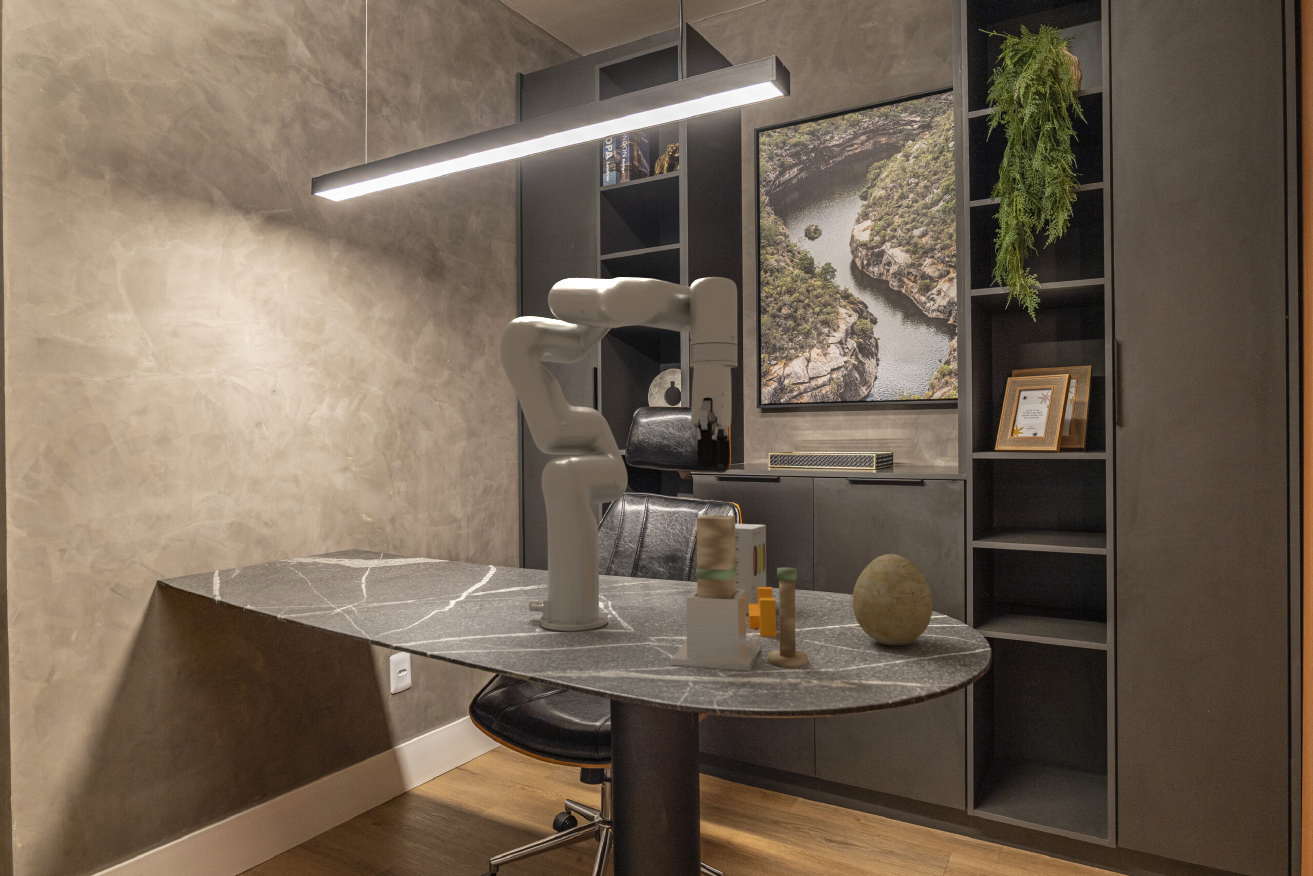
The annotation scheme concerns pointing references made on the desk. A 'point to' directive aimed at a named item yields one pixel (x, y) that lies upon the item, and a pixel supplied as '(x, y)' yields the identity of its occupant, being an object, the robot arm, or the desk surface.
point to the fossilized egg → (892, 600)
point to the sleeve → (717, 634)
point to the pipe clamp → (763, 613)
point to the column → (716, 556)
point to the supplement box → (750, 560)
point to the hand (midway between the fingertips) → (714, 465)
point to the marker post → (787, 623)
